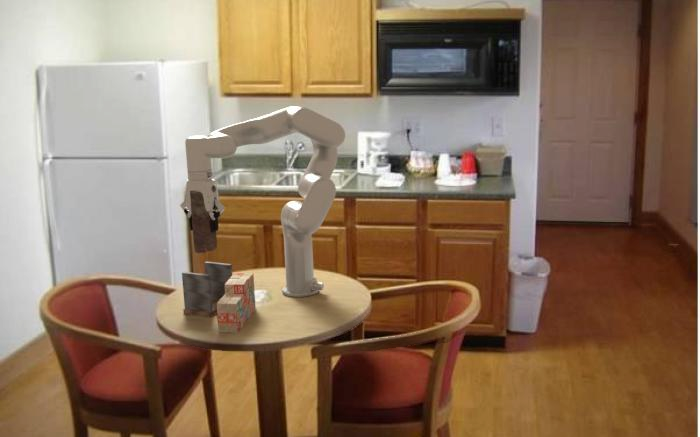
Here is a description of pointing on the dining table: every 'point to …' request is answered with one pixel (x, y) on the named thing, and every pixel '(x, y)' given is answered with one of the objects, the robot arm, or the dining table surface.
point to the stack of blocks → (236, 302)
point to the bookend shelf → (205, 289)
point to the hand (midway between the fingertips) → (204, 230)
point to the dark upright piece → (201, 225)
